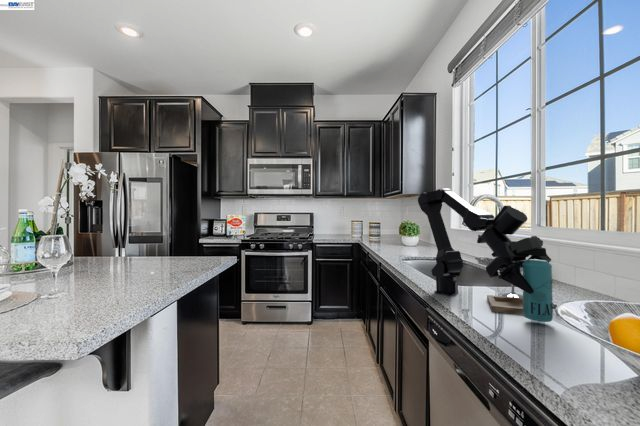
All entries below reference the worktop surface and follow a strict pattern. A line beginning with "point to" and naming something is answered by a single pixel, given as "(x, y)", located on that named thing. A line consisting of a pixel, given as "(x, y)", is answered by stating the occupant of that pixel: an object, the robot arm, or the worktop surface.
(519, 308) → the walnut tray
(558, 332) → the worktop surface
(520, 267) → the robot arm
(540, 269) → the beverage bottle
